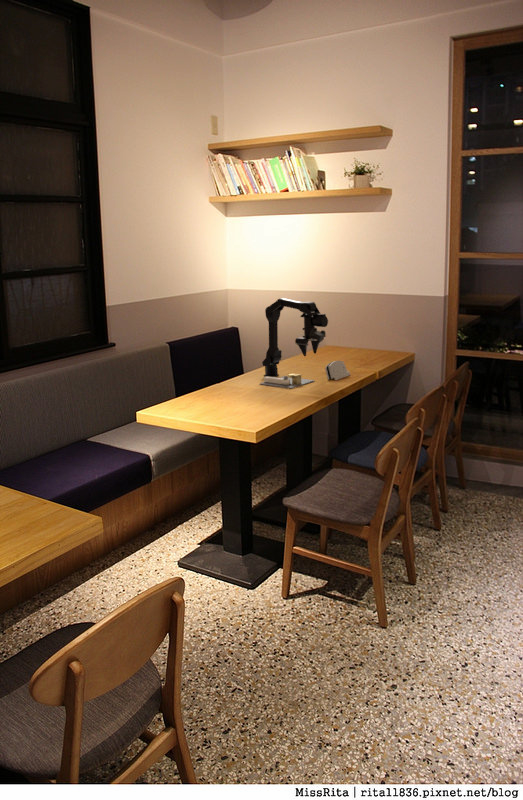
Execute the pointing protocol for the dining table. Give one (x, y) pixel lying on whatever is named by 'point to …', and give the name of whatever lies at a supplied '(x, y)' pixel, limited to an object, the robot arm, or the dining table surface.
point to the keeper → (295, 378)
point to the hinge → (336, 370)
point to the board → (290, 386)
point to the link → (277, 380)
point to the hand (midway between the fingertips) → (309, 354)
